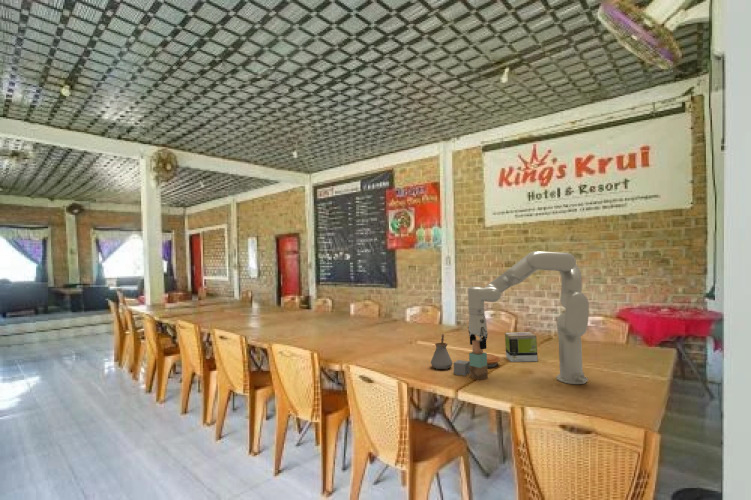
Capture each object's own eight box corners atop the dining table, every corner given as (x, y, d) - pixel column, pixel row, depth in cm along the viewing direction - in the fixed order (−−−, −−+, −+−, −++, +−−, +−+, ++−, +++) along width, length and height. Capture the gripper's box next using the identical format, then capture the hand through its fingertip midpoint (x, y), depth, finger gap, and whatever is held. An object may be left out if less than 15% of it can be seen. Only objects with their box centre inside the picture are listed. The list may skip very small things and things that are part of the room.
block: (469, 373, 192) (469, 361, 192) (465, 376, 187) (464, 364, 187) (458, 371, 196) (458, 359, 196) (453, 374, 191) (453, 362, 191)
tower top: (487, 365, 185) (486, 353, 185) (479, 367, 181) (479, 355, 181) (476, 362, 189) (476, 350, 189) (469, 365, 185) (469, 353, 185)
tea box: (532, 357, 218) (531, 331, 218) (538, 362, 208) (537, 335, 208) (505, 357, 219) (504, 331, 220) (509, 362, 209) (508, 335, 210)
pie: (464, 365, 207) (464, 356, 207) (481, 359, 217) (480, 350, 217) (489, 371, 195) (489, 361, 195) (505, 364, 205) (505, 355, 205)
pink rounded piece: (485, 353, 183) (484, 341, 183) (475, 354, 182) (475, 342, 182) (479, 351, 188) (479, 339, 188) (470, 352, 187) (470, 340, 187)
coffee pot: (451, 371, 195) (450, 342, 196) (429, 370, 198) (428, 342, 199) (454, 360, 216) (453, 334, 216) (434, 359, 219) (433, 333, 219)
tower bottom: (487, 378, 183) (487, 365, 184) (477, 380, 181) (477, 367, 181) (479, 375, 189) (479, 362, 189) (469, 376, 186) (469, 364, 187)
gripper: (492, 313, 178) (494, 350, 178) (474, 309, 195) (476, 342, 194) (478, 314, 176) (480, 351, 176) (461, 310, 193) (462, 343, 193)
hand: (478, 346), depth 185 cm, fingers open, 9 cm apart
